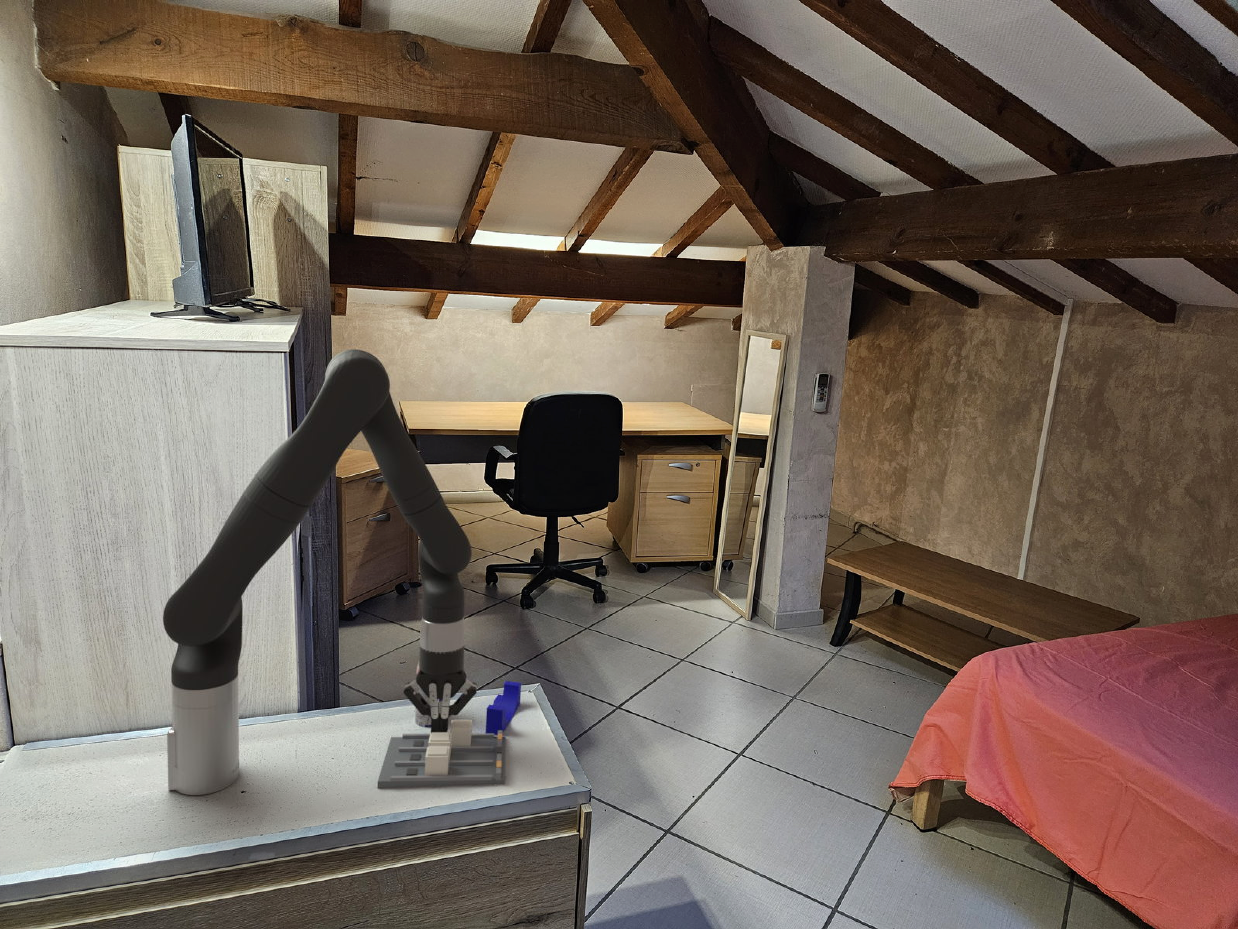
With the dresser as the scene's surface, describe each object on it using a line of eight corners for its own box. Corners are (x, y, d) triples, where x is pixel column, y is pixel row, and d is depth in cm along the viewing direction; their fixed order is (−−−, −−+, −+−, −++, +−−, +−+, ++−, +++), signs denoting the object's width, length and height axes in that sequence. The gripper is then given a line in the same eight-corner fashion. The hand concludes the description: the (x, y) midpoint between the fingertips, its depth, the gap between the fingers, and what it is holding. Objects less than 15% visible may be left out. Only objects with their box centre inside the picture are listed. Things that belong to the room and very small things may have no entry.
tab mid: (427, 762, 130) (428, 741, 129) (429, 752, 133) (430, 731, 132) (449, 762, 130) (450, 741, 130) (451, 752, 133) (451, 731, 133)
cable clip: (497, 708, 153) (499, 680, 152) (519, 711, 153) (521, 683, 152) (477, 738, 142) (478, 707, 141) (501, 741, 141) (502, 710, 140)
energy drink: (450, 723, 146) (452, 663, 144) (429, 734, 141) (431, 672, 140) (430, 714, 149) (432, 655, 147) (408, 725, 144) (410, 664, 142)
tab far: (449, 748, 135) (450, 727, 134) (450, 738, 138) (451, 718, 137) (470, 748, 135) (471, 727, 135) (471, 738, 138) (472, 718, 138)
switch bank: (377, 788, 124) (377, 773, 123) (391, 743, 137) (391, 729, 137) (504, 786, 127) (504, 772, 126) (505, 742, 140) (505, 729, 140)
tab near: (424, 777, 125) (425, 755, 125) (426, 766, 129) (427, 745, 128) (447, 777, 126) (448, 755, 125) (448, 766, 129) (449, 745, 128)
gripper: (399, 650, 129) (397, 747, 131) (480, 650, 131) (476, 746, 133) (405, 633, 136) (403, 725, 139) (482, 634, 138) (478, 725, 141)
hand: (439, 735), depth 136 cm, fingers closed
